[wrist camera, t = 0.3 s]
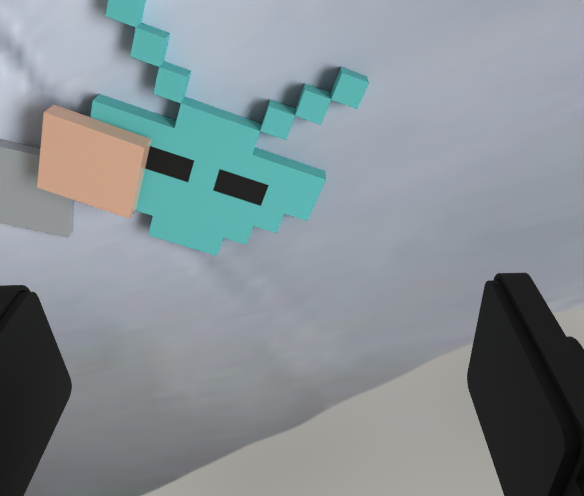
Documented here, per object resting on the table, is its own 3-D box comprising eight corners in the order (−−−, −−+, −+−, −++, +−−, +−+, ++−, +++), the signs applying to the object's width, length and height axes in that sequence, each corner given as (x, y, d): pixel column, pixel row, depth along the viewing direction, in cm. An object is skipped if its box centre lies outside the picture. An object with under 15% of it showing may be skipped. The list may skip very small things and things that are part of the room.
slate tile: (-5, 135, 46) (-15, 143, 45) (76, 154, 47) (69, 162, 46) (0, 211, 51) (-9, 221, 49) (74, 227, 52) (68, 237, 50)
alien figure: (119, -20, 39) (84, 201, 50) (110, -16, 37) (75, 213, 48) (366, 74, 43) (283, 262, 53) (368, 82, 41) (283, 275, 52)
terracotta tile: (144, 147, 42) (43, 112, 41) (129, 218, 46) (37, 187, 45) (152, 138, 43) (55, 103, 42) (137, 207, 47) (47, 176, 46)
